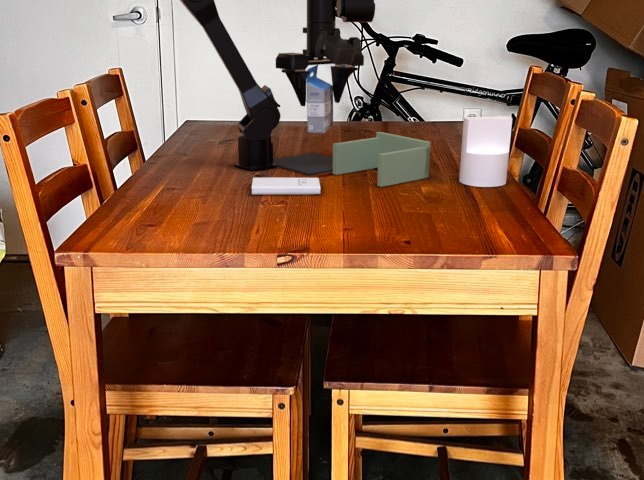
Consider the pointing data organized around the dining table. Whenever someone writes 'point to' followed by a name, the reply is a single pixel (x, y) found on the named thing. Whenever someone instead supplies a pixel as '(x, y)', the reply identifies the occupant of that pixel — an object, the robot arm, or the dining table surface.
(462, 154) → the cylinder with rectangular tab
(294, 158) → the mat
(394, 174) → the u-shaped bracket
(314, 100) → the label tape box
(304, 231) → the dining table surface
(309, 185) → the hard drive
